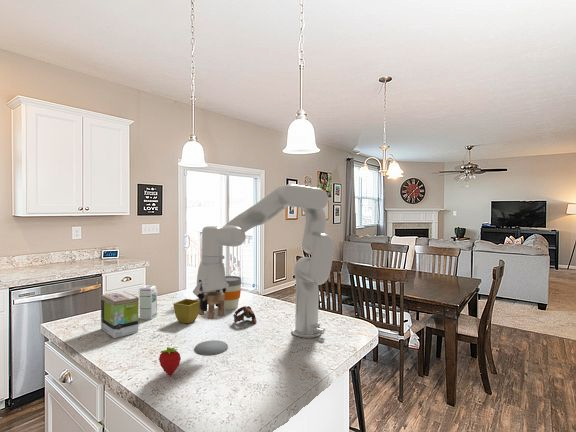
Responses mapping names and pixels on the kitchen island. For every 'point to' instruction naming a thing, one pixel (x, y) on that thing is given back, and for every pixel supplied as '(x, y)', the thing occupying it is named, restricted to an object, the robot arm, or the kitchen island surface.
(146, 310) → the syrup box
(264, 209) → the robot arm
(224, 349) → the mat
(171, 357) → the strawberry
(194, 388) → the kitchen island surface
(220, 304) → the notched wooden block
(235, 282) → the reusable coffee cup
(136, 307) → the tea box
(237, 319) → the brown curved piece
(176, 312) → the flower pot
